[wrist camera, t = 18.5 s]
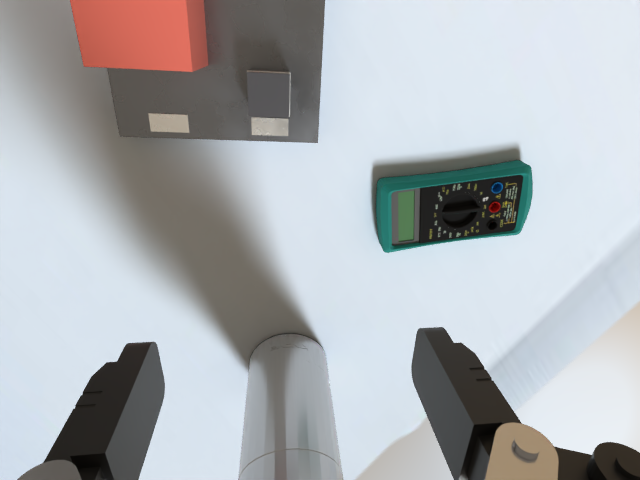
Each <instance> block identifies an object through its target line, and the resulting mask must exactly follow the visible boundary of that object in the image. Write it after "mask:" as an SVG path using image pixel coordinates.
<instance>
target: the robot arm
mask: <svg viewBox="0 0 640 480" xmlns="http://www.w3.org/2000/svg"><path fill="white" fill-rule="evenodd" d="M412 378H413V383H414V386H415V388H416V390H417V393H418V395H419V398H420V400H421V402H422V405H423V407H424V409H425V412H426V414H427V417H428V419H429V421H430V423H431V426H432V428H433V431H434V433H435V436H436V438H437V440H438V443H439V445H440V447H441V450H442V452H443V455H444V457H445V459H446V462H447V464H448V466H449V469H450V471H451V474H452V476H453V478H454V480H640V453H639V452H637V451H636V450H634V449H632V448H630V447H627V446H625V445H622V444H619V443H613V442H606V443H602V444H599V445H598V446H597V447H596V448H595V450H594V452H593V454H592V455H589V454H585V453H580V452H575V451H570V450H566V449H561V448H557V447H554V446H553V445H552V443H551V442H550V441H549V440H548V439H547V438H546V437H545V436H544V435H543V434H541V433H540V432H539V431H537V430H535V429H534V428H532V427H530V426H527V425H524V424H522V423H521V422H520V420H519V419H518V417H517V416H516V414H515V413H514V411H513V410H512V408H511V407H510V405H509V404H508V402H507V401H506V399H505V398H504V396H503V395H502V393H501V392H500V390H499V389H498V387H497V386H496V384H495V383H494V381H492V380H491V377H490V375H489V374H488V372H487V371H486V370H484V366H483V365H482V363H481V362H480V360H479V359H478V357H477V356H476V354H475V353H474V352H472V351H471V350H470V349H469V348H467V347H466V346H465V345H463V344H462V343H453V341H452V339H451V338H450V336H449V335H448V333H447V331H446V330H445V329H444V328H443V327H437V328H420V329H418V331H417V335H416V341H415V347H414V354H413V360H412ZM164 391H165V383H164V376H163V371H162V367H161V362H160V357H159V352H158V347H157V344H156V343H155V342H142V343H128V344H126V346H125V347H124V349H123V351H122V353H121V355H120V357H119V359H118V361H117V362H107V363H106V364H105V365H104V366H103V367H101V368H100V369H99V370H98V371H97V372H96V373H95V374H94V375H93V376H92V377H91V379H90V380H89V382H88V384H87V386H86V388H85V389H84V391H83V395H81V396H80V398H79V400H78V402H77V404H76V405H75V406H76V407H75V409H73V411H72V413H71V414H70V416H69V418H68V420H67V422H66V423H65V425H64V427H63V429H62V431H61V432H60V434H59V436H58V438H57V439H56V441H55V443H54V445H53V447H52V448H51V450H50V452H49V454H48V456H47V457H46V459H45V461H44V462H43V463H42V464H40V465H38V466H36V467H34V468H32V469H30V470H29V471H27V472H26V473H25V474H23V475H22V476H21V477H20V478H18V479H17V480H138V479H139V476H140V472H141V469H142V466H143V463H144V460H145V457H146V453H147V450H148V447H149V444H150V441H151V438H152V434H153V431H154V428H155V425H156V422H157V419H158V415H159V412H160V409H161V406H162V403H163V399H164ZM238 480H343V474H342V468H341V461H340V454H339V447H338V440H337V432H336V425H335V418H334V411H333V404H332V396H331V389H330V381H329V374H328V367H327V360H326V355H325V352H324V350H323V348H322V347H321V346H320V345H319V344H318V343H317V342H315V341H314V340H312V339H310V338H308V337H306V336H302V335H298V334H283V335H278V336H274V337H271V338H269V339H267V340H265V341H264V342H262V343H261V344H259V345H258V346H257V348H256V349H255V350H254V351H253V353H252V355H251V359H250V364H249V374H248V385H247V394H246V404H245V415H244V426H243V436H242V447H241V457H240V468H239V478H238Z"/></svg>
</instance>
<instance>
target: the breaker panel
mask: <svg viewBox="0 0 640 480" xmlns="http://www.w3.org/2000/svg"><path fill="white" fill-rule="evenodd" d="M324 9H325V0H204V12H205V25H206V39H207V53H208V66H206V67H203V68H201V69H198V70H196V71H193V72H185V71H164V70H144V69H124V68H108V73H109V79H110V85H111V90H112V96H113V101H114V107H115V112H116V118H117V123H118V129H119V134H120V136H124V137H154V138H185V139H215V140H246V141H276V142H307V143H318V127H319V107H320V88H321V68H322V49H323V29H324ZM249 69H262V70H282V71H289V72H290V73H291V76H290V117H289V118H276V117H251V116H248V91H247V70H249Z"/></svg>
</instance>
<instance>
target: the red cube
mask: <svg viewBox="0 0 640 480" xmlns="http://www.w3.org/2000/svg"><path fill="white" fill-rule="evenodd" d="M70 2H71V7H72V12H73V17H74V22H75V26H76V31H77V36H78V41H79V46H80V51H81V55H82V60H83V65H84V67H104V68H124V69H144V70H164V71H185V72H193V71H196V70H198V69H201V68H203V67H206V66H208V53H207V39H206V25H205V12H204V0H70Z"/></svg>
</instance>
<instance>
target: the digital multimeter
mask: <svg viewBox="0 0 640 480" xmlns="http://www.w3.org/2000/svg"><path fill="white" fill-rule="evenodd" d="M505 176H506V177H505ZM497 177H498V178H497ZM482 179H483V180H482ZM475 180H476V181H475ZM467 181H468V182H467ZM460 182H461V183H460ZM452 183H453V184H452ZM445 184H446V185H445ZM437 185H438V186H437ZM430 186H431V187H430ZM465 192H466V193H465ZM475 196H476V197H475ZM531 200H532V171H531V167H530V166H529V165H527V164H525V163H523V162H521V161H520V160H515V161H510V162H504V163H499V164H494V165H488V166H482V167H475V168H469V169H463V170H457V171H448V172H440V173H431V174H423V175H411V176H399V177H387V178H381V179H379V180H378V182H377V194H376V219H377V229H378V237H379V242H380V244H381V247H382V249H383V251H384V252H387V253H389V252H394V251H400V250H405V249H410V248H416V247H421V246H426V245H433V244H440V243H446V242H453V241H460V240H469V239H478V238H487V237H497V236H509V235H517V234H519V233H520V232H521V230H522V228H523V225H524V223H525V220H526V218H527V215H528V212H529V209H530V206H531Z"/></svg>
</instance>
